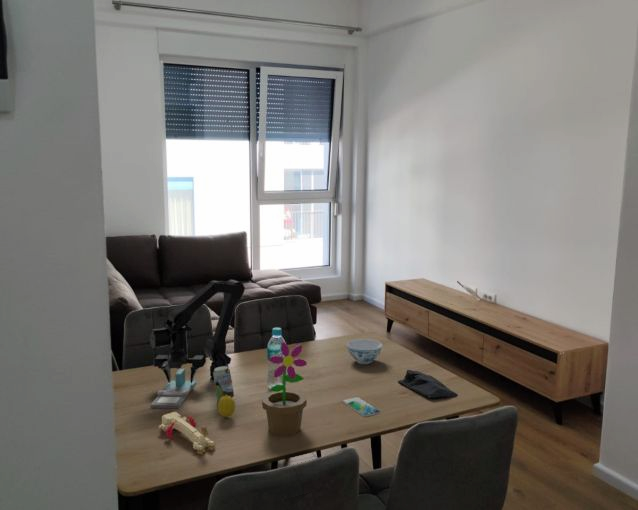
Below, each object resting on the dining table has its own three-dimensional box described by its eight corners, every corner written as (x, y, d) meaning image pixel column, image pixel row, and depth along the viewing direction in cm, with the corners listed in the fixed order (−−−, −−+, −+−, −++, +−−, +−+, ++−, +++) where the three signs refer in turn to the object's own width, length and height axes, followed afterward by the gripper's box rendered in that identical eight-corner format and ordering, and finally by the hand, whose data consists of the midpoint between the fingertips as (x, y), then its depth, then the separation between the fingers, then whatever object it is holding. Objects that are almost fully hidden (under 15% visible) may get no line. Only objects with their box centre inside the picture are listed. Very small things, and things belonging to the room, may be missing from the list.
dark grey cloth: (424, 403, 204) (425, 390, 204) (395, 382, 225) (395, 370, 224) (461, 397, 210) (461, 385, 209) (428, 376, 230) (429, 365, 230)
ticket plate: (191, 390, 215) (191, 383, 214) (179, 408, 199) (178, 401, 198) (164, 389, 215) (164, 383, 215) (150, 407, 199) (150, 400, 199)
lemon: (227, 423, 187) (227, 399, 186) (214, 419, 190) (214, 396, 189) (238, 416, 192) (238, 394, 191) (225, 413, 195) (225, 390, 194)
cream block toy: (221, 450, 172) (179, 417, 190) (221, 424, 170) (179, 393, 188) (192, 462, 165) (151, 427, 183) (192, 434, 164) (151, 401, 181)
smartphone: (357, 396, 208) (381, 411, 196) (357, 398, 209) (381, 414, 196) (340, 399, 205) (364, 415, 192) (340, 402, 205) (364, 418, 192)
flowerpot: (270, 442, 174) (269, 347, 170) (256, 423, 187) (254, 334, 183) (313, 434, 180) (313, 341, 175) (297, 415, 193) (296, 329, 188)
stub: (195, 383, 221) (195, 368, 221) (191, 389, 215) (190, 374, 214) (170, 382, 222) (169, 368, 221) (165, 389, 215) (164, 374, 214)
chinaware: (383, 367, 239) (383, 349, 238) (347, 367, 239) (347, 349, 238) (380, 355, 254) (380, 339, 253) (346, 355, 254) (346, 339, 253)
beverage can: (230, 403, 202) (229, 371, 201) (211, 402, 204) (210, 369, 202) (236, 397, 208) (235, 365, 207) (217, 395, 210) (216, 364, 208)
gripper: (147, 349, 208) (149, 390, 211) (198, 350, 207) (199, 391, 210) (157, 340, 219) (158, 379, 222) (205, 340, 218) (206, 380, 221)
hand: (180, 382), depth 218 cm, fingers open, 8 cm apart
